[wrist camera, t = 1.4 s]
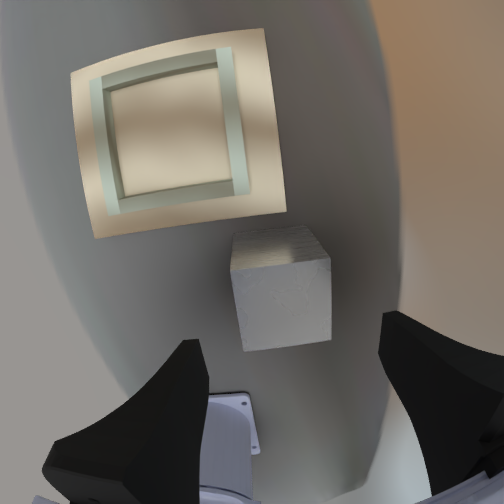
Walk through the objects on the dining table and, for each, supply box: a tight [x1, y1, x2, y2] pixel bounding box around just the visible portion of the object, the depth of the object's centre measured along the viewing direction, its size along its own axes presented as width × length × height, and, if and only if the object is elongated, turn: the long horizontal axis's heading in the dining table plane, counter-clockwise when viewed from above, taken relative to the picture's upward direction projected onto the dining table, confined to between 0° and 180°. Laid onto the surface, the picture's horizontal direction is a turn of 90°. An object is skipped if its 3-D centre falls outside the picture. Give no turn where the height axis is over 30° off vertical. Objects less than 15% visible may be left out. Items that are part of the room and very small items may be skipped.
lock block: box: [230, 225, 331, 352], centre depth 17 cm, size 4×4×6 cm
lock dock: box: [71, 28, 287, 239], centre depth 16 cm, size 11×12×2 cm
